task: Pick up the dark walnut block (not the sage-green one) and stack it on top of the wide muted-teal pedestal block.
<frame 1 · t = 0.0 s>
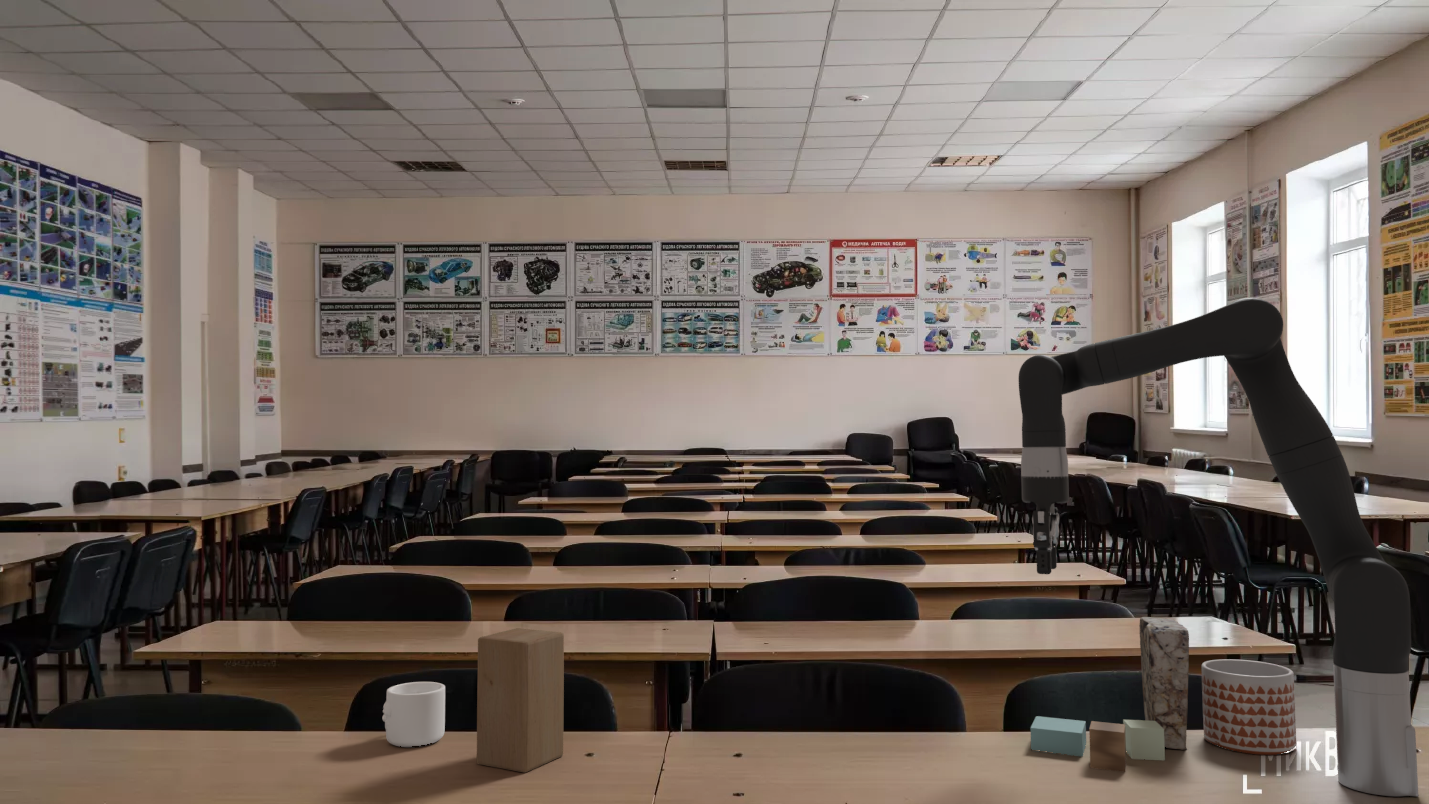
hand: (1047, 571, 162), 29 cm above the table, fingers open, 8 cm apart
walnut block: (1108, 765, 152), on the table
mug: (413, 740, 167), on the table
teal pedestal: (1059, 748, 161), on the table
stone block: (1164, 740, 165), on the table
sage block: (1144, 755, 157), on the table
planter: (1249, 745, 163), on the table
wooden block: (520, 761, 155), on the table
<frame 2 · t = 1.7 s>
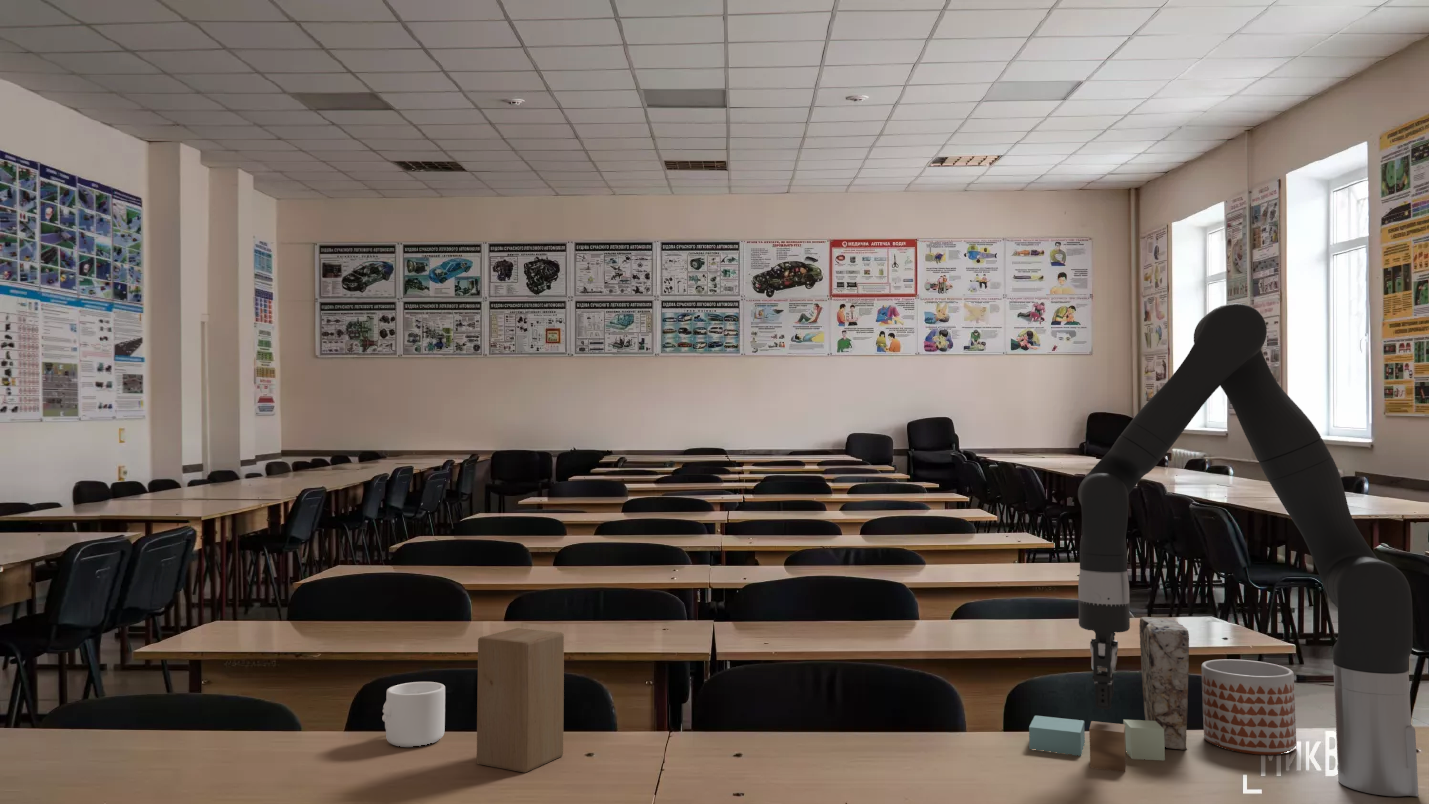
hand: (1104, 702, 152), 10 cm above the table, fingers open, 8 cm apart
nothing on the table moved.
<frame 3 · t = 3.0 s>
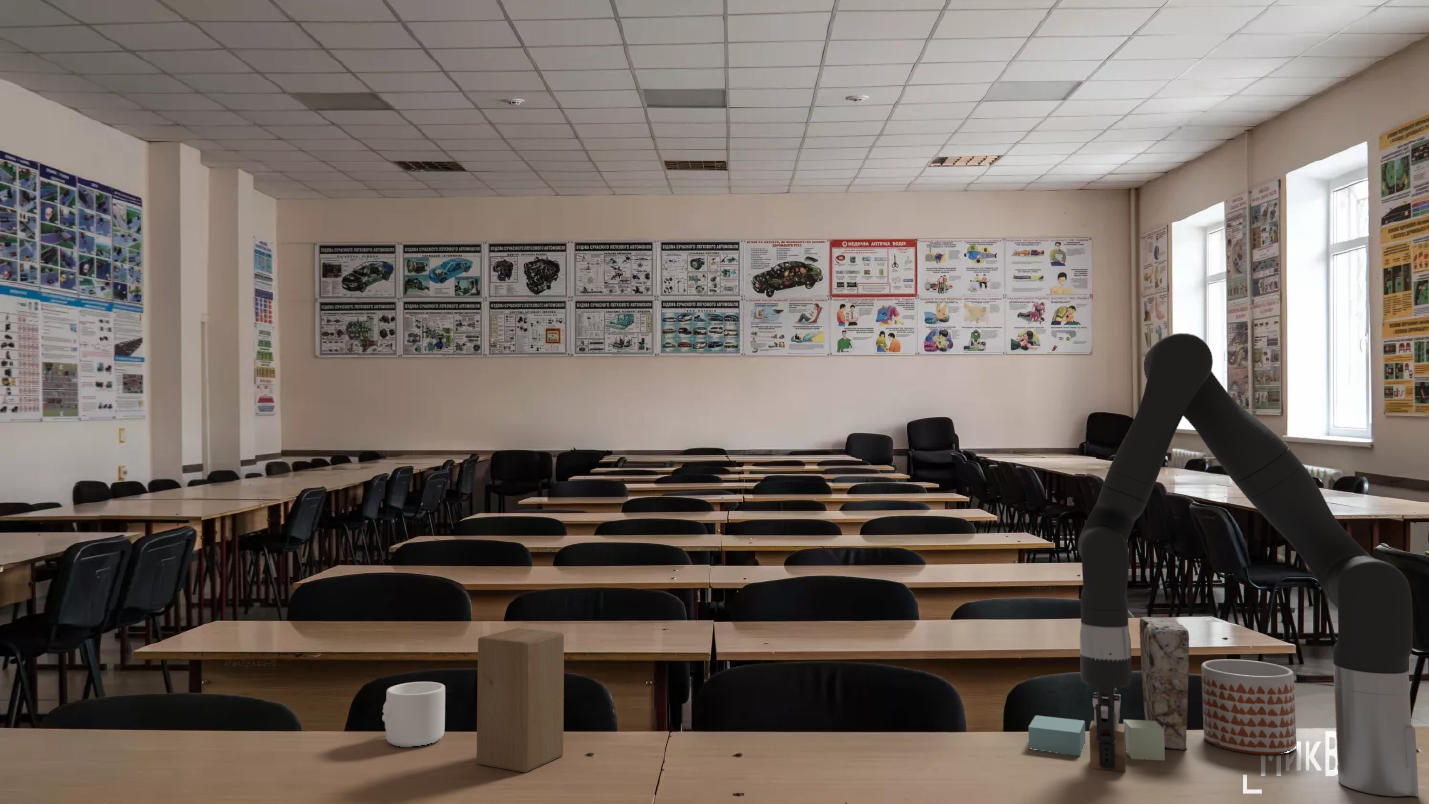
hand: (1108, 761, 152), 0 cm above the table, fingers closed on walnut block, 5 cm apart
walnut block: (1108, 765, 152), on the table, touching gripper
everything else where it was.
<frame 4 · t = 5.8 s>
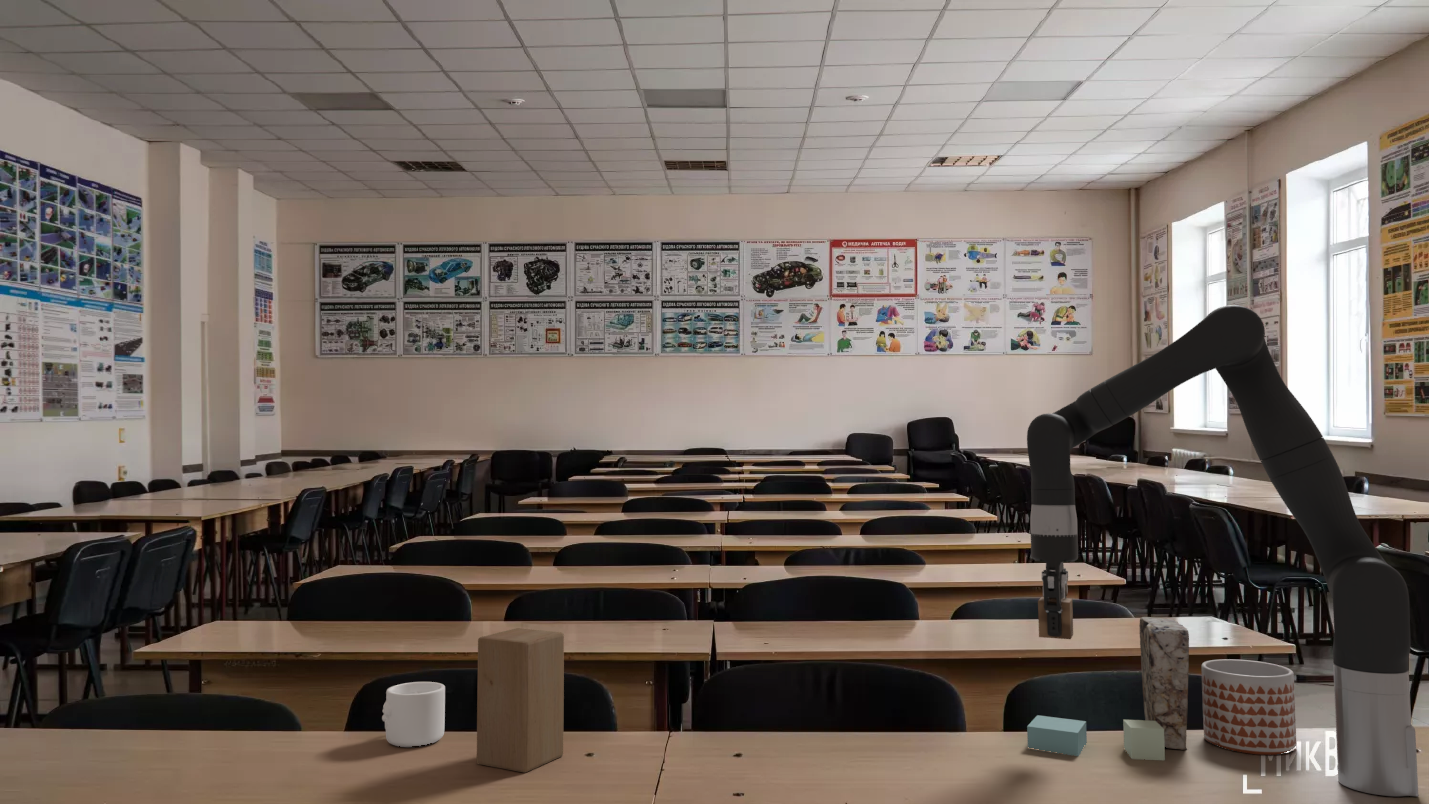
hand: (1056, 632, 162), 19 cm above the table, fingers closed on walnut block, 5 cm apart
walnut block: (1056, 635, 162), point 18 cm above the table, touching gripper
everything else where it was.
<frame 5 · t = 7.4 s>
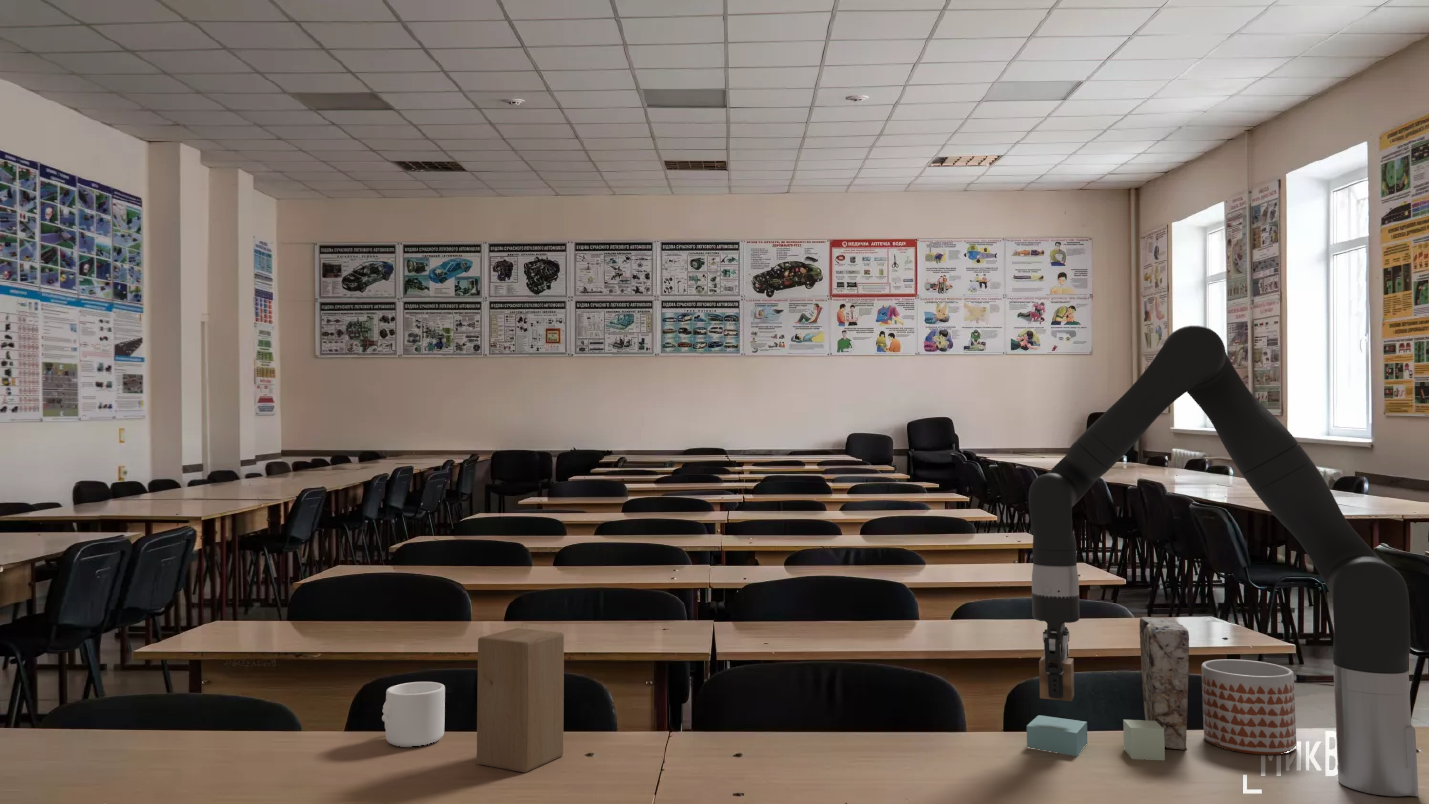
hand: (1057, 693, 162), 9 cm above the table, fingers closed on walnut block, 5 cm apart
walnut block: (1057, 696, 162), point 8 cm above the table, touching gripper
everything else where it was.
when the fingers open (6 cm above the table, at t = 8.5 s): walnut block drops 2 cm, resting on teal pedestal.
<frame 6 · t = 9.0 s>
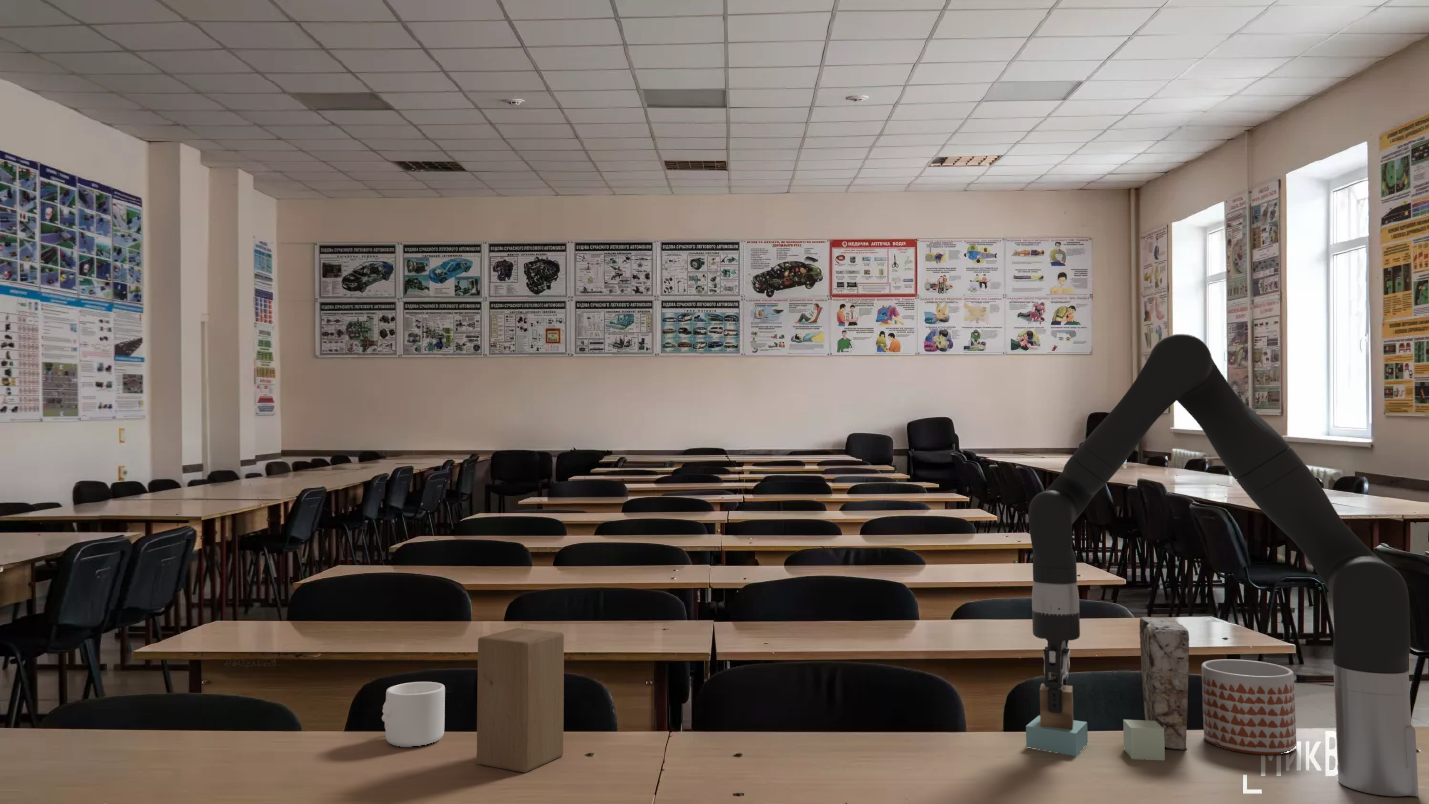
hand: (1058, 706, 162), 7 cm above the table, fingers open, 8 cm apart
walnut block: (1057, 724, 162), point 4 cm above the table, touching teal pedestal
teal pedestal: (1057, 748, 162), on the table, touching walnut block
everything else where it was.
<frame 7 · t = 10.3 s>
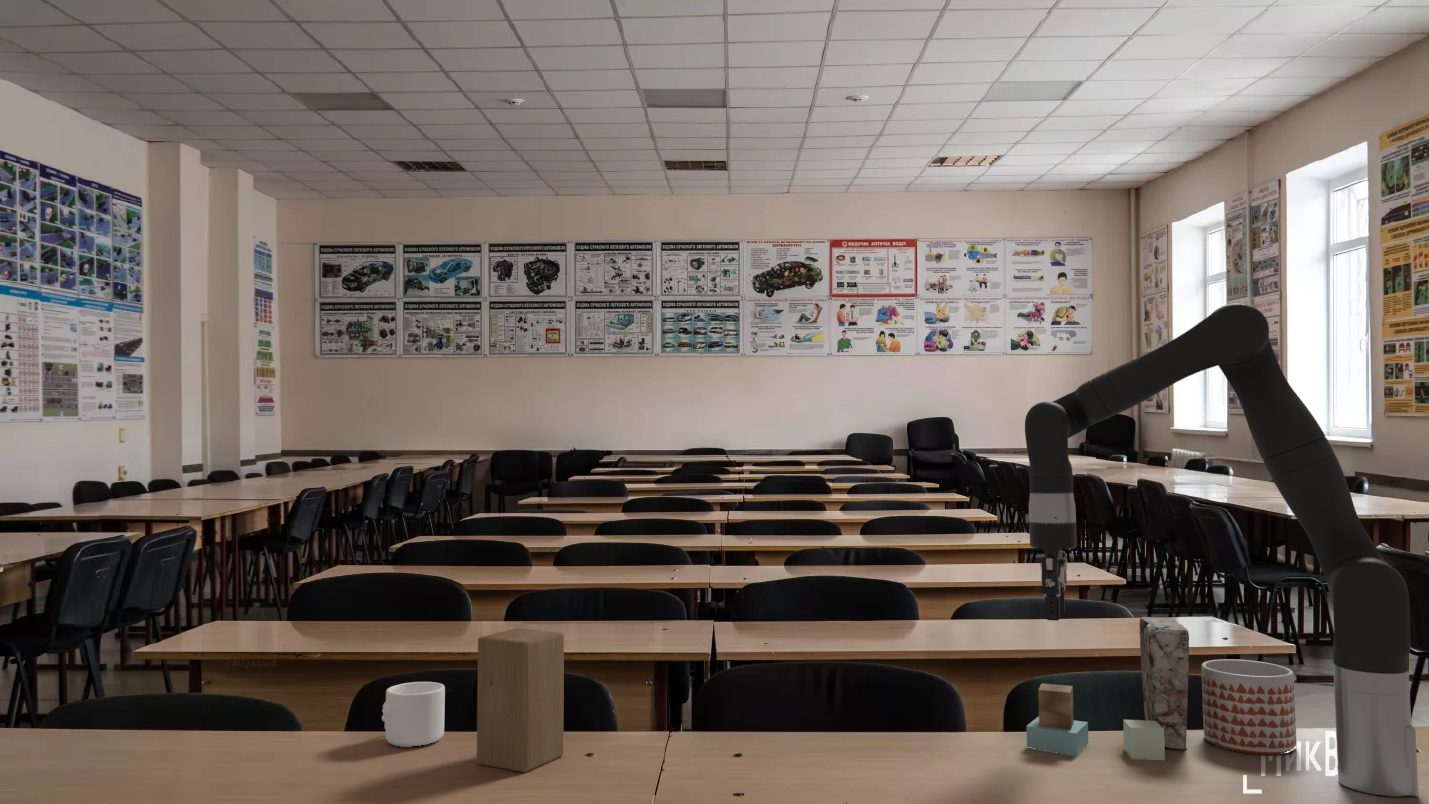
hand: (1055, 616, 163), 22 cm above the table, fingers open, 8 cm apart
nothing on the table moved.
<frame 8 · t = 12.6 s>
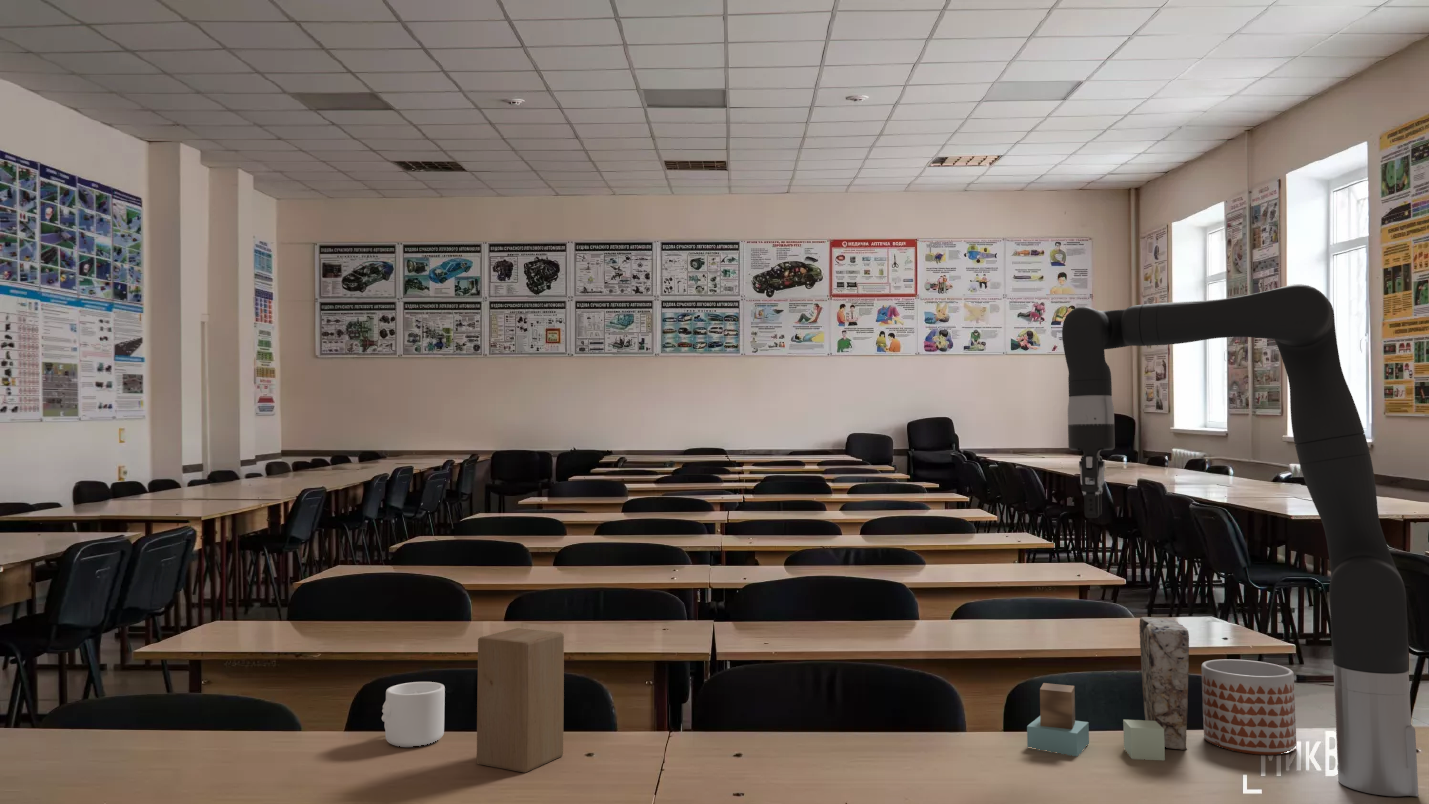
hand: (1093, 516, 167), 38 cm above the table, fingers open, 8 cm apart
nothing on the table moved.
at the end: walnut block 0.4 cm off-centre on the teal pedestal, point 4.0 cm above the teal pedestal's base; walnut block tilted 1°; the gripper is holding nothing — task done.
